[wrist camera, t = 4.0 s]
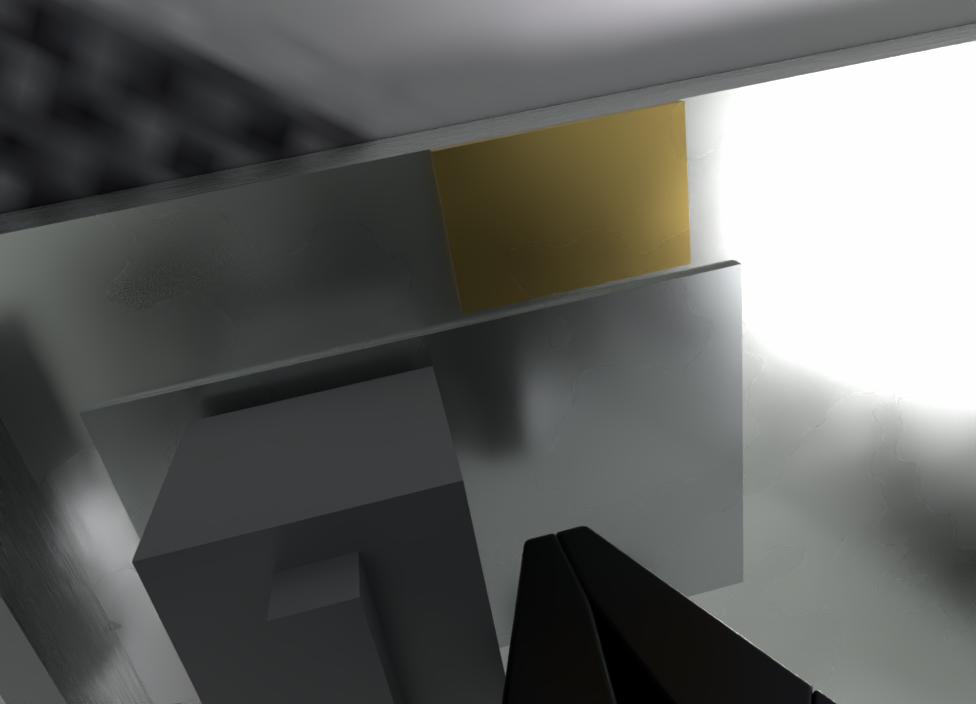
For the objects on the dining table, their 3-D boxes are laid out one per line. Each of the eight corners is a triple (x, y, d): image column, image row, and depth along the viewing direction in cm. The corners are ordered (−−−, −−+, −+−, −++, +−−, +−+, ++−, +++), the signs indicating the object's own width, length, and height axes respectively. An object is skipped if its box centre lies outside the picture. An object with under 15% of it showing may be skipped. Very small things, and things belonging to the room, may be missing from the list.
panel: (1114, -5, 10) (1379, -17, 8) (968, 716, 17) (1083, 841, 15) (-738, 358, 8) (-1271, 518, 5) (-54, 1024, 15) (-140, 1239, 12)
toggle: (433, 365, 9) (473, 520, 6) (495, 650, 11) (547, 861, 8) (187, 422, 9) (111, 611, 6) (301, 703, 11) (287, 940, 8)
